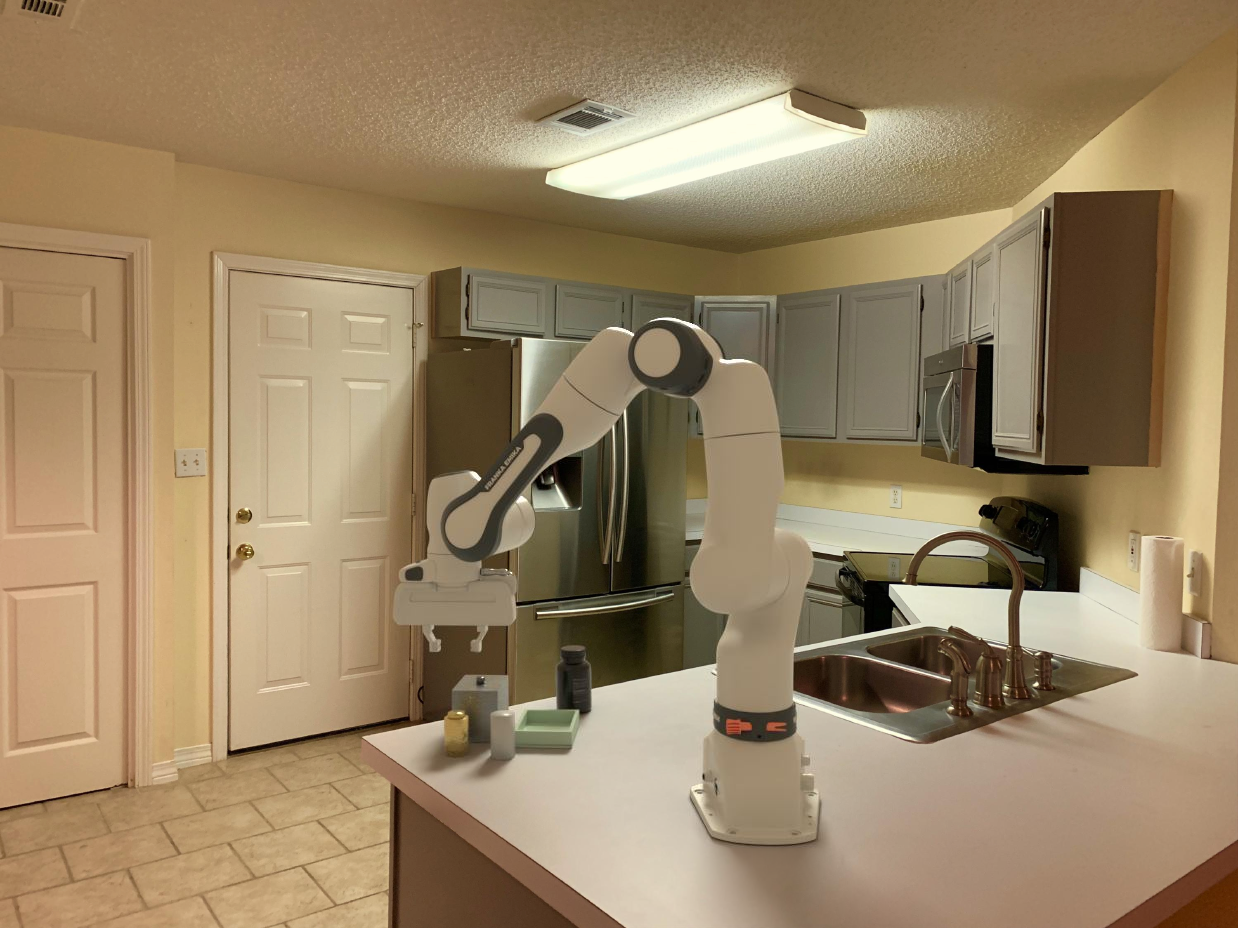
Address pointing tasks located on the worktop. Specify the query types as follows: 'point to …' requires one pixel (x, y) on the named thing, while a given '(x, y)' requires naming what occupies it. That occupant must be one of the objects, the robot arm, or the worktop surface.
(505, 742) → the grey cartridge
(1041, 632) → the worktop surface
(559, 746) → the tray
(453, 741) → the brass fitting
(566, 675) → the supplement bottle
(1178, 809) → the worktop surface
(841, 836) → the worktop surface
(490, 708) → the box
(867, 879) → the worktop surface
